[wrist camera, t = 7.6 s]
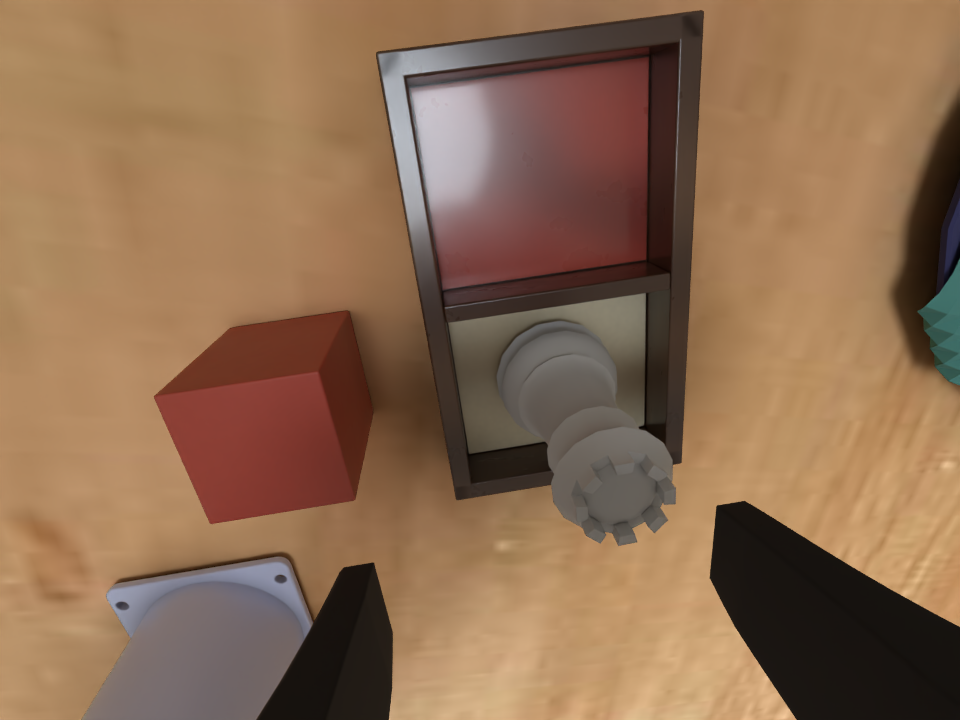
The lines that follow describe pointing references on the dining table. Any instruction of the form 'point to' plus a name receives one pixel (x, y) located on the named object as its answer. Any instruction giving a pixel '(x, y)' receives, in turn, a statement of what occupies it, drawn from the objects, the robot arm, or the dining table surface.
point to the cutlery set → (947, 298)
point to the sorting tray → (549, 217)
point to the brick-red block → (272, 417)
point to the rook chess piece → (586, 431)
